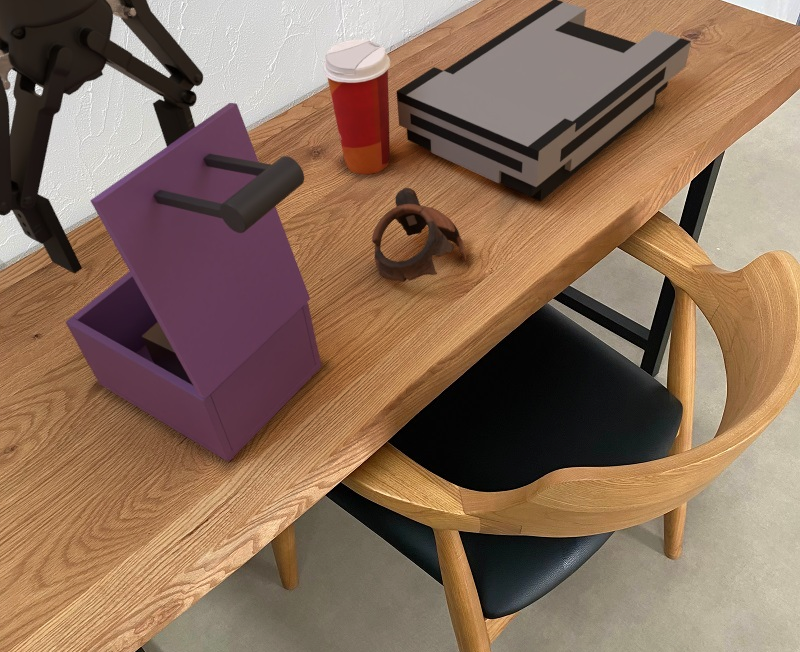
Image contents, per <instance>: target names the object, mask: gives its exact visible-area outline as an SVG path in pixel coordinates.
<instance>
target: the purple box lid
mask: <svg viewBox="0 0 800 652" xmlns="http://www.w3.org/2000/svg"><path fill="white" fill-rule="evenodd" d="M304 182H305V173H304V170H303V168H302V167H301V165H300V164H299V163H298V162H297V160H295V159H293V157H291V156H287V155H283V156H280V158H278V159H277V160H276V161H274V162H273V163H272V164H271V163H266V162H260V160H259V159H258V156H257V153H256V151H255V147H254V145H253V143H252V141H251V138H250V135H249V133H248V129H247V128H246V124H245V122H244V119H243V117H242V114H241V111H240V108H239V106H238V103H236V102H228V104H226V105H224V106H223V107H222V108H220V109H218V110H217V111H216V112H215V113H213V114H211V115H210V116H209V117H207V118H206V119H205V120H203V121H201V122H200V123H199V124H197V125H195V127H194V128H193V129H192V130H190V131H189V132H187V133H186V134H184V135H183V136H182V137H180V138H179V139H177V140H176V141H174V142H173V143H172V144H170V145H169V146H166V147H164V148H163V149H161V150H160V151H159V152H157V153H156V154H154V155H153V156H151V157H150V158H149V159H146V161H144V162H143V163H141V164H140V165H139V166H137V167H136V168H134V169H133V170H132V171H130V172H129V173H127V174H126V175H124V176H123V177H121V178H120V179H119V180H117V181H116V182H115V183H113V184H112V185H110V186H109V187H107V188H106V189H104V190H103V191H101V192H100V193H99V194H98V195H96V196H94V197H93V198H91V199H90V203H91V205H92V207H93V209H94V210H95V212H96V213H97V216H98V218H99V219H100V220H101V223H102V224H103V226H104V228H105V229H106V232H107V233H108V235H109V237H110V238H111V240H112V242H113V244H114V246H115V248H116V250H117V251H118V253H119V255H120V256H121V258H122V260H123V262H124V264H125V266H126V267H127V269H128V272H129V271H130V273H131V274H132V276H133V278H134V280H135V282H136V283H137V285H138V287H139V289H140V291H141V292H142V294H143V296H144V298H145V300H146V301H147V303H148V305H149V307H150V309H151V310H152V312H153V314H154V316H155V318H156V319H157V321H158V323H159V325H160V327H161V328H162V330H163V332H164V334H165V336H166V337H167V339H168V341H169V343H170V344H171V346H172V348H173V350H174V352H175V353H176V355H177V357H178V359H179V361H180V362H181V364H182V366H183V368H184V370H185V371H186V373H187V375H188V377H189V379H190V380H191V382H192V384H193V386H194V388H195V389H196V391H197V393H198V395H199V396H200V397H203V398H207V397H208V396H209V395H210V394H211V393H212V392H213V391H214V390H215V389H216V388H217V387H218V386H219V385H220V384H221V383H222V382H223V381H225V380H226V379H227V378H228V377H229V376H230V375H231V374H232V373H233V372H234V371H235V370H236V369H237V368H238V367H239V366H240V365H241V364H242V363H244V362H245V361H246V360H247V359H248V358H249V357H250V356H251V355H252V354H253V353H254V352H255V351H256V350H257V349H258V348H259V347H260V346H261V345H262V344H264V343H265V342H266V341H267V340H268V339H269V338H270V337H271V336H272V335H273V334H274V333H275V332H276V331H277V330H278V329H279V328H280V327H281V326H283V325H284V324H285V323H286V322H287V321H288V320H289V319H290V318H291V317H292V316H293V315H294V314H295V313H296V312H297V311H298V310H299V309H300V308H302V307H303V306H304V305H305V304H306V303H307V302H308V303H309V301H310V300H311V296H310V294H309V292H308V289H307V286H306V283H305V282H304V281H305V280H304V279H303V276H302V273H301V270H300V268H299V265H298V262H297V260H296V257H295V254H294V252H293V249H292V247H291V244H290V241H289V239H288V236H287V233H286V230H285V228H284V224H283V223H282V220H281V217H280V215H279V211H278V209H277V205H279V204H280V203H282V202H283V201H284V200H285V199H286V198H287V197H289V196H290V195H291V194H292V193H294V192H295V191H296V190H297V189H298V188H299V187H301V186H302V185H303V184H304Z"/></svg>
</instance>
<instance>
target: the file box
mask: <svg viewBox="0 0 800 652" xmlns="http://www.w3.org/2000/svg"><path fill="white" fill-rule="evenodd" d="M64 322H65V325H66V326H67V328H68V330H69V331H70V334H71V335H72V337H73V339H74V340H75V342H76V344H77V346H78V348H79V350H80V352H81V354H82V355H83V357H84V359H85V360H86V363H87V364H88V366H89V367H90V370H91V371H92V373H93V375H94V377H95V379H96V380H97V382H98V384H99V385H100V386H102V387H103V388H105V389H106V390H108V391H110V392H112V393H113V394H115V395H116V396H118V397H119V398H121V399H123V400H125V401H127V402H128V403H130V404H131V405H133V406H134V407H137V408H138V409H140V410H141V411H142V412H145V413H146V414H148V415H150V416H151V417H153V418H155V419H156V420H158V421H160V422H161V423H163V424H164V425H166V426H168V427H169V428H171V429H173V430H175V432H178V433H179V434H181V435H183V436H184V437H186V438H188V439H190V440H191V441H193V442H195V444H198V445H199V446H201V447H203V448H204V449H206V450H207V451H209V452H211V453H213V454H214V455H216V456H217V457H219V458H220V459H222V460H224V461H225V462H227V463H229V462H230V461H231V460H233V459H234V457H236V456H237V455H238V454H239V452H240V451H241V450H242V449H243V448H244V447H246V445H247V444H248V443H249V442H250V441H251V440H252V439H253V438H254V437H255V436H256V435H257V434H258V433H259V432H260V431H262V429H263V428H264V427H265V426H266V425H267V424H268V423H269V421H270V420H272V418H274V416H276V414H278V412H279V411H280V410H281V409H282V408H283V407H284V406H285V405H286V404H287V403H289V401H290V400H291V399H292V398H293V397H294V396H295V395H296V393H298V392H299V391H300V390H301V389H302V388H303V387H304V385H306V383H307V382H309V380H310V379H311V378H312V377H313V376H315V374H317V372H319V370H320V369H321V368H322V362H321V357H320V352H319V347H318V342H317V338H316V334H315V329H314V324H313V318H312V315H311V310H310V306H309V301H308V302H307V303H306V304H305V305H304V306H303V307H302V308H300V309H299V310H298V311H297V312H296V313H295V314H294V315H293V316H292V317H291V318H290V319H289V320H288V321H287V322H286V323H285V324H284V325H283V326H281V327H280V328H279V329H278V330H277V331H276V332H275V333H274V334H273V335H272V336H271V337H270V338H269V339H268V340H267V341H266V342H265V343H264V344H262V345H261V346H260V347H259V348H258V349H257V350H256V351H255V352H254V353H253V354H252V355H251V356H250V357H249V358H248V359H247V360H246V361H245V362H244V363H242V364H241V365H240V366H239V367H238V368H237V369H236V370H235V371H234V372H233V373H232V374H231V375H230V376H229V377H228V378H227V379H226V380H225V381H223V382H222V383H221V384H220V385H219V386H218V387H217V388H216V389H215V390H214V391H213V392H212V393H211V394H210V395H209V396H208V397H207V398H203V397H200V396H199V395H198V393H197V391H196V389H195V388H194V386H193V385H191V384H189V383H188V382H186V381H184V380H182V379H181V378H179V377H177V376H175V375H174V374H172V373H170V372H168V371H166V370H165V369H163V368H161V367H159V366H158V365H156V364H154V362H153V360H152V358H151V356H150V354H149V352H148V349H147V347H146V345H145V343H144V341H143V338H142V335H143V334H145V333H146V332H147V331H148V330H149V329H150V328H151V327H152V326H153V325H155V324H156V323H157V322H158V321H157V319H156V318H155V316H154V314H153V312H152V310H151V309H150V307H149V305H148V303H147V301H146V300H145V298H144V296H143V294H142V292H141V291H140V289H139V287H138V285H137V283H136V282H135V280H134V278H133V276H132V274H131V273H130V271H129V270H128V272H126V274H124V275H123V276H122V277H120V278H118V280H116V281H115V282H114V283H113V284H111V285H109V287H108V288H106V289H105V290H104V291H103V292H101V293H100V294H99V295H98V296H96V297H95V298H93V299H92V300H91V301H89V302H88V303H87V304H86V305H85V306H83V307H82V308H81V309H79V310H78V311H77V312H76V313H74V314H73V315H72V316H70V317H69V318H68V319H66V321H64Z"/></svg>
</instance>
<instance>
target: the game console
mask: <svg viewBox="0 0 800 652" xmlns="http://www.w3.org/2000/svg"><path fill="white" fill-rule="evenodd" d="M586 15H587V8H585V7H582V6H579V5H575V4H572V3H569V2H567V1H566V2H565V1H562V0H551V1H549V2H547V3H546V4H544V5H543V6H541V7H540V8H538V9H537V10H535V11H533V12H532V13H531V14H529V15H528V16H525V17H524V18H522V19H521V20H520V21H518V22H516V23H515V24H513V25H512V26H510V27H509V28H507V29H506V30H504V31H503V32H501V33H499V34H498V35H496V36H495V37H493V38H491V39H490V40H488V41H487V42H486V43H484V44H482V45H481V46H480V47H478V48H476V49H474V50H473V51H472V52H470V53H469V54H467V55H465V56H464V57H462V58H460V59H459V60H458V61H455V62H454V63H453V64H451V65H450V66H448V67H446V68H445V69H440V68H438V67H435V66H433V67H431V68H430V69H428V70H427V71H425V72H424V73H422V74H421V75H419V76H417V77H416V78H414V79H413V80H411V81H410V82H409V83H407V84H405V85H404V86H402V87H400V88H399V89H397V90H396V91H395V92H396V103H397V116H398V117H397V118H398V126H399V127H402V128H404V129H406V138H407V139H406V140H407V141H409V142H411V143H414V144H416V145H418V147H420V148H423V149H425V150H427V151H429V152H431V154H434V155H435V156H438V157H440V158H443V159H444V160H447V161H449V162H451V163H453V164H455V165H458V166H459V167H462V168H464V169H467V170H469V171H470V172H473V173H475V174H477V175H479V176H482V177H483V178H486V179H488V180H491V181H492V182H495V183H497V184H502V185H503V186H505V187H508V188H509V189H512V190H515V191H516V192H518V193H520V194H523V195H525V196H527V197H530V198H531V199H534V200H536V201H539V202H542V201H543V200H545V198H547V197H548V196H549V195H550V194H552V193H553V192H554V191H555V190H557V189H558V188H559V187H560V186H561V185H562V184H564V183H565V182H566V181H568V179H570V178H571V177H572V176H573V175H575V174H576V173H577V172H578V171H580V170H581V169H582V168H583V167H584V166H585V165H587V164H588V163H590V161H592V160H593V159H594V158H595V157H596V156H598V155H599V154H600V153H601V152H602V151H604V150H605V149H606V148H607V147H609V146H610V145H611V144H612V143H614V142H615V141H616V140H617V139H619V138H620V137H621V136H623V134H625V133H626V132H627V131H628V130H630V128H633V126H635V124H637V123H638V122H639V121H640V120H642V119H643V118H644V117H646V115H648V114H649V113H651V111H653V110H654V109H655V107H656V101H657V96H658V95H659V94H661V92H663V91H664V90H665V89H667V87H668V84H669V81H670V80H671V79H672V78H674V77H676V75H678V74H679V73H680V72H681V71H682V70H683V69H685V68H686V67H687V63H688V58H689V53H690V49H691V44H692V41H691V40H688V39H684V38H681V37H678V36H676V35H671V34H669V33H665V32H662V31H659V30H656V29H654V30H653V31H651V32H649V34H647V35H646V36H644V37H643V38H642V39H640V40H639V41H638V42H634V41H632V40H629V39H625V38H622V37H619V36H615V35H613V34H610V33H607V32H604V31H601V30H597V29H595V28H591V27H588V26H585V24H586Z"/></svg>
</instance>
